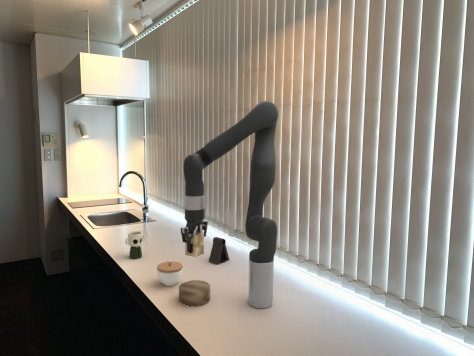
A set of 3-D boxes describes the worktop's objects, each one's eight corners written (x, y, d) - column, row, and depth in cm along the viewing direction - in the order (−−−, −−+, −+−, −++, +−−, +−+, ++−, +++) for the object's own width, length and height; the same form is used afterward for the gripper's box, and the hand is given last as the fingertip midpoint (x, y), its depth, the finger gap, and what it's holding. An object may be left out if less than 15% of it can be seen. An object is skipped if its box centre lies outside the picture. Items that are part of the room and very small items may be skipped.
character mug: (129, 261, 174) (128, 236, 173) (122, 258, 179) (121, 233, 178) (148, 256, 182) (148, 232, 180) (141, 253, 187) (141, 229, 185)
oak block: (193, 251, 137) (193, 231, 136) (203, 253, 135) (203, 233, 134) (185, 254, 133) (185, 234, 132) (195, 257, 131) (195, 236, 130)
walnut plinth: (192, 289, 144) (192, 277, 144) (216, 296, 138) (216, 284, 137) (172, 301, 134) (172, 288, 133) (197, 309, 128) (197, 296, 127)
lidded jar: (167, 290, 143) (167, 268, 142) (152, 283, 150) (151, 262, 149) (187, 282, 151) (187, 261, 150) (172, 275, 158) (172, 255, 157)
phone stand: (217, 265, 172) (217, 241, 170) (208, 262, 175) (208, 238, 174) (229, 260, 178) (229, 237, 177) (221, 257, 182) (221, 235, 181)
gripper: (198, 202, 140) (198, 244, 142) (174, 209, 128) (174, 254, 130) (213, 205, 136) (213, 247, 138) (190, 211, 124) (190, 258, 126)
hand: (194, 250), depth 134 cm, fingers closed on oak block, 5 cm apart
